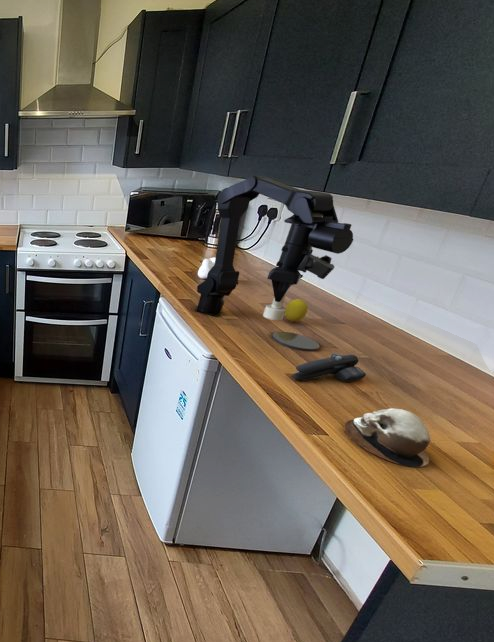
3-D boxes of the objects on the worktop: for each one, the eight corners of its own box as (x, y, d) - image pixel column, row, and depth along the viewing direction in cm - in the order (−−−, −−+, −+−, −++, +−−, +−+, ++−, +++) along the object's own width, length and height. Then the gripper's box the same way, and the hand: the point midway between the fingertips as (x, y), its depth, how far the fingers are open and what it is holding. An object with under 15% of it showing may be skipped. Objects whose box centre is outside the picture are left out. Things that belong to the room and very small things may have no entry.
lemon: (295, 319, 131) (304, 296, 127) (306, 326, 126) (315, 302, 122) (277, 317, 131) (285, 295, 128) (287, 324, 126) (296, 301, 123)
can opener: (339, 367, 102) (348, 348, 99) (367, 382, 96) (377, 362, 93) (279, 371, 99) (287, 351, 97) (304, 387, 93) (313, 366, 90)
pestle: (260, 317, 111) (274, 277, 106) (264, 312, 114) (278, 274, 109) (280, 322, 108) (295, 281, 103) (283, 317, 111) (298, 278, 106)
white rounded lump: (225, 278, 169) (231, 257, 165) (230, 286, 159) (236, 265, 155) (196, 274, 172) (201, 254, 169) (198, 282, 162) (204, 261, 159)
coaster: (268, 341, 115) (269, 339, 114) (275, 330, 122) (276, 328, 122) (316, 354, 108) (317, 353, 108) (320, 342, 115) (321, 340, 115)
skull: (324, 418, 80) (371, 385, 78) (347, 446, 83) (393, 415, 81) (382, 460, 69) (440, 424, 67) (406, 490, 72) (462, 456, 70)
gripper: (335, 256, 91) (310, 318, 97) (342, 244, 104) (319, 300, 110) (277, 246, 98) (257, 305, 104) (290, 236, 110) (272, 289, 117)
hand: (278, 300), depth 109 cm, fingers closed on pestle, 2 cm apart
